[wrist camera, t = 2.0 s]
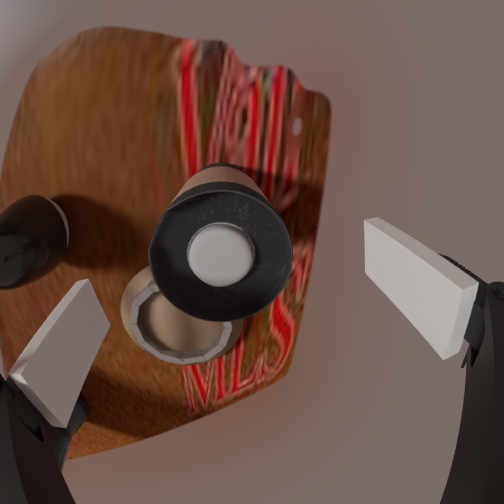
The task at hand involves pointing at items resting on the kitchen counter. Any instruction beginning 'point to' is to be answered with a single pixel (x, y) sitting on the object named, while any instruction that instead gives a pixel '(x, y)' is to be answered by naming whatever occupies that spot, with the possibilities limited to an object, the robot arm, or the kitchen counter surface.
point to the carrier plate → (172, 326)
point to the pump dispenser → (31, 240)
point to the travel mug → (220, 247)
